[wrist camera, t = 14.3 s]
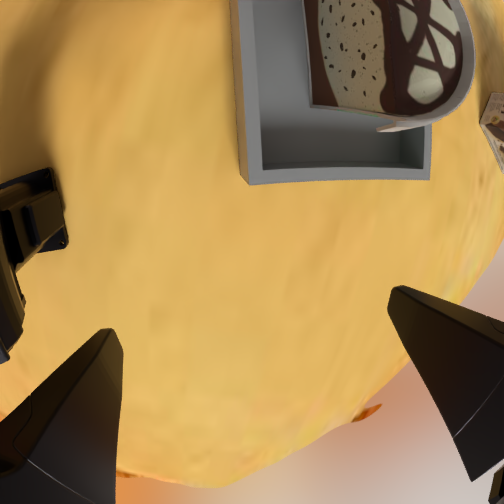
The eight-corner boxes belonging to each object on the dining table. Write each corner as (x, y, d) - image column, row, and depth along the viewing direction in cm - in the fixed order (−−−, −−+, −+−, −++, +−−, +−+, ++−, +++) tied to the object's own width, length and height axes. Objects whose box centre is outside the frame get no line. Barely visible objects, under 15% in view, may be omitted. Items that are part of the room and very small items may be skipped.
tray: (240, 174, 19) (249, 185, 15) (227, -50, 11) (232, -77, 7) (398, 170, 21) (429, 180, 17) (379, -24, 12) (404, -38, 9)
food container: (383, 133, 18) (487, 151, 9) (310, 128, 17) (406, 135, 8) (369, -3, 13) (452, -42, 4) (297, -19, 12) (361, -88, 3)
